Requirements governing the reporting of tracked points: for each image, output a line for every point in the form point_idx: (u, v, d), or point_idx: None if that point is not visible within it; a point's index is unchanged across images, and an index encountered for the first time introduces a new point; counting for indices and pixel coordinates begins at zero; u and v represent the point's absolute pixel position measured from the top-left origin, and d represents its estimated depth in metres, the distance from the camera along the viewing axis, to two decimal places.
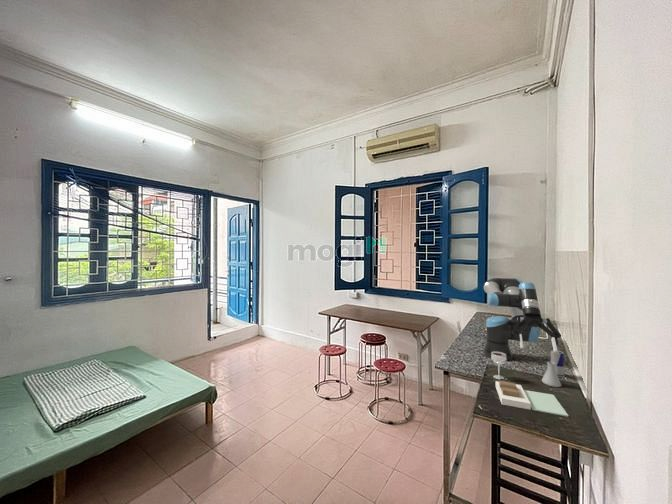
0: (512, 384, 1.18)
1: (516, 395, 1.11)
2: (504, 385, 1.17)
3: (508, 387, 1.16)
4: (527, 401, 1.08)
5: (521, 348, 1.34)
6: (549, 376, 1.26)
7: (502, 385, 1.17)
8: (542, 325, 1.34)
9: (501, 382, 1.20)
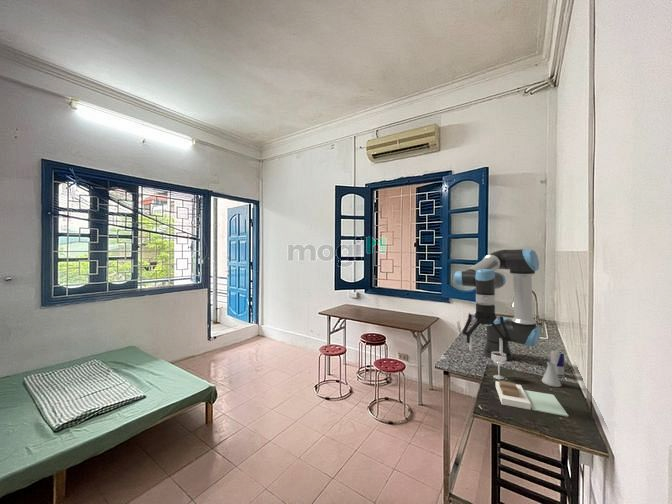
0: (512, 384, 1.18)
1: (516, 395, 1.11)
2: (504, 385, 1.17)
3: (508, 387, 1.16)
4: (527, 401, 1.08)
5: (470, 349, 1.23)
6: (549, 376, 1.26)
7: (502, 385, 1.17)
8: (493, 326, 1.17)
9: (501, 382, 1.20)
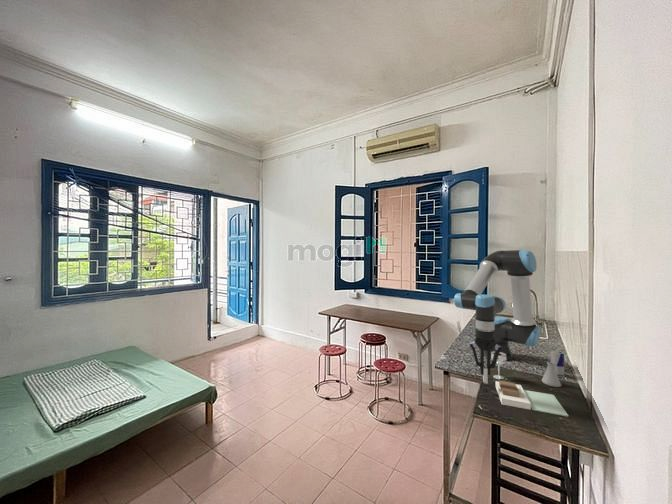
0: (512, 384, 1.18)
1: (516, 395, 1.11)
2: (504, 385, 1.17)
3: (508, 387, 1.16)
4: (527, 401, 1.08)
5: None
6: (549, 376, 1.26)
7: (502, 385, 1.17)
8: (487, 352, 1.18)
9: (501, 382, 1.20)
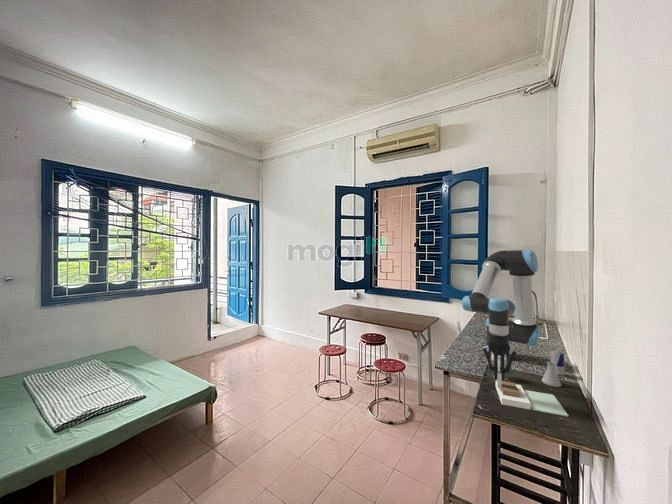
0: (512, 384, 1.18)
1: (516, 395, 1.11)
2: (504, 385, 1.17)
3: (508, 387, 1.15)
4: (527, 401, 1.08)
5: None
6: (549, 376, 1.26)
7: (502, 385, 1.17)
8: (501, 357, 1.16)
9: None
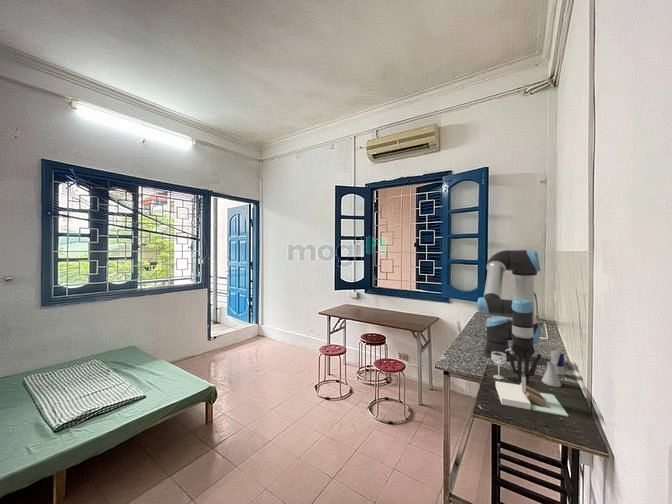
0: (537, 393, 1.14)
1: (541, 404, 1.08)
2: (530, 390, 1.14)
3: (534, 394, 1.12)
4: (527, 401, 1.08)
5: (521, 389, 1.16)
6: (549, 376, 1.26)
7: (527, 390, 1.13)
8: (526, 360, 1.12)
9: (526, 387, 1.16)
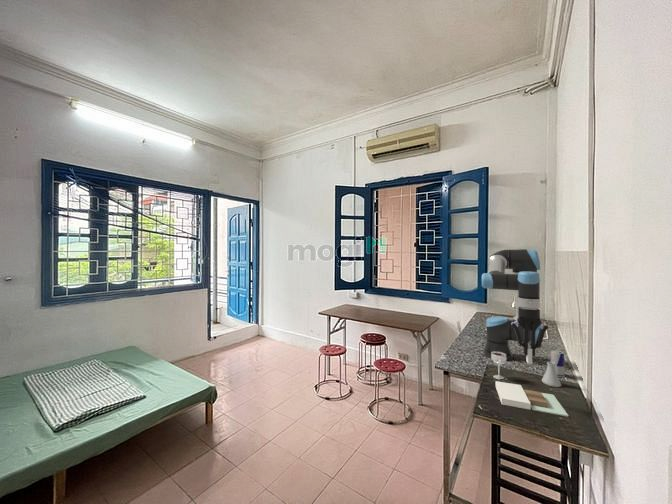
0: (539, 394, 1.14)
1: (544, 405, 1.07)
2: (530, 394, 1.13)
3: (535, 396, 1.11)
4: (527, 401, 1.08)
5: (527, 361, 1.15)
6: (549, 376, 1.26)
7: (528, 394, 1.13)
8: (532, 332, 1.12)
9: (526, 391, 1.16)
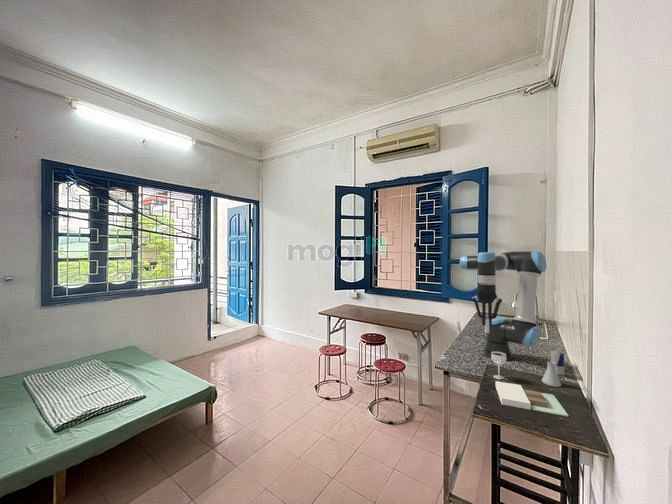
0: (539, 394, 1.14)
1: (544, 405, 1.07)
2: (530, 394, 1.13)
3: (535, 396, 1.11)
4: (527, 401, 1.08)
5: None
6: (549, 376, 1.26)
7: (528, 394, 1.13)
8: (489, 304, 1.27)
9: (526, 391, 1.16)
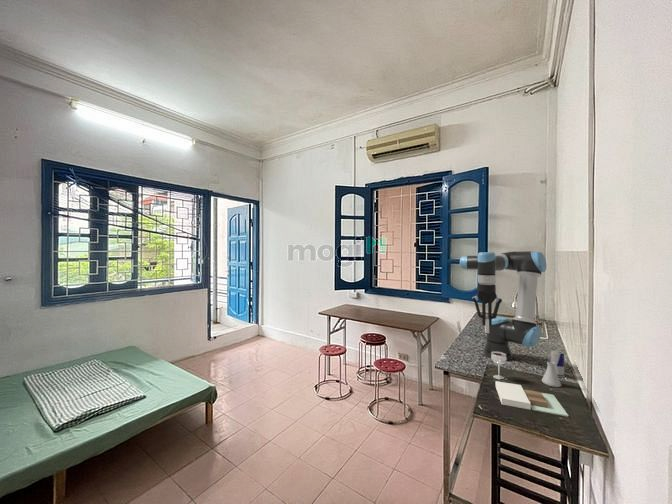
0: (539, 394, 1.14)
1: (544, 405, 1.07)
2: (530, 394, 1.13)
3: (535, 396, 1.11)
4: (527, 401, 1.08)
5: None
6: (549, 376, 1.26)
7: (528, 394, 1.13)
8: (489, 304, 1.27)
9: (526, 391, 1.16)
